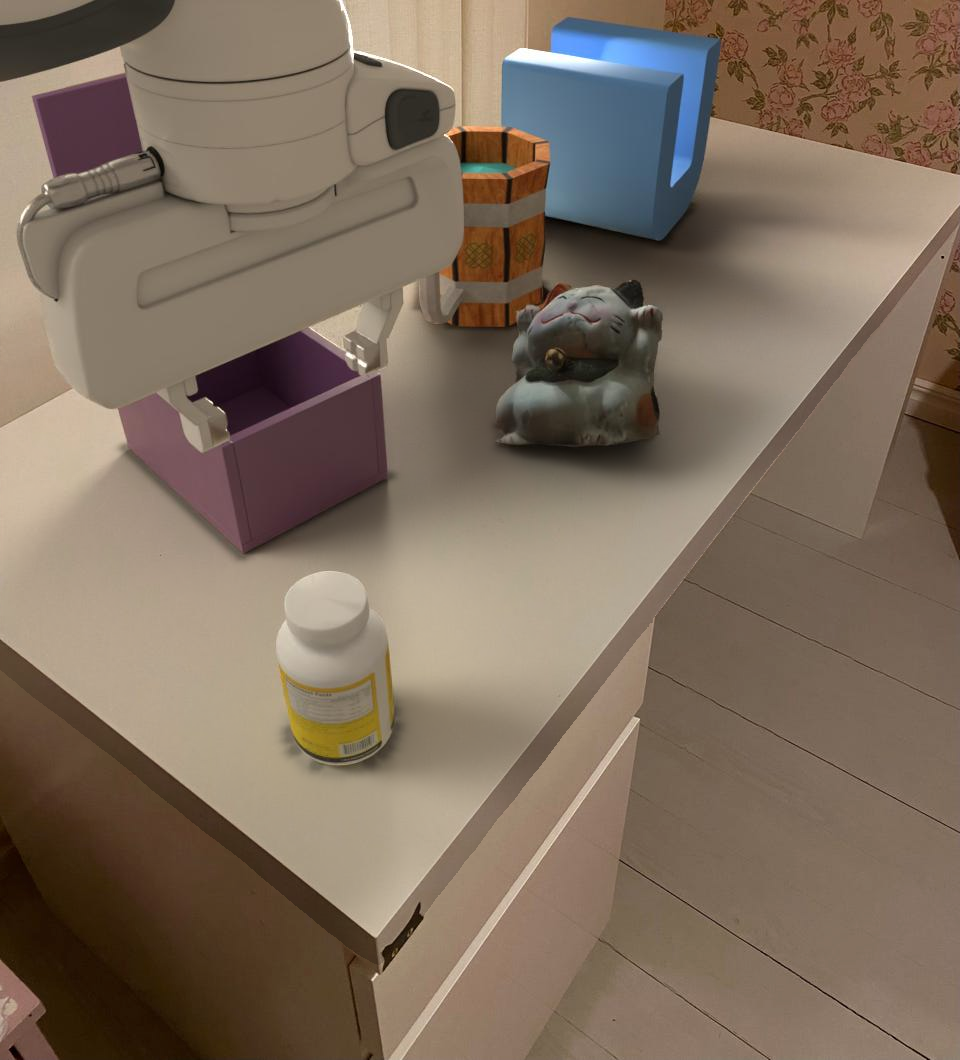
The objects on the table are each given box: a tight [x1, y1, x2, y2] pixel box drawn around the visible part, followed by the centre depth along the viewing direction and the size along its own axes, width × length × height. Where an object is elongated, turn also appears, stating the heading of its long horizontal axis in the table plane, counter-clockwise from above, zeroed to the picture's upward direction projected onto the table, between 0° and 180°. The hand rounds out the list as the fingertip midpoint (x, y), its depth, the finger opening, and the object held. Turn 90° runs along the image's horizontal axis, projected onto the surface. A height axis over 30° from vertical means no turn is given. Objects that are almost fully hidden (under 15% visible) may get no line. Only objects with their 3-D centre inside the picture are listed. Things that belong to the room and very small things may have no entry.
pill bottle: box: [275, 570, 395, 766], centre depth 62 cm, size 6×6×12 cm
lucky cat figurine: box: [495, 278, 664, 448], centre depth 87 cm, size 15×12×14 cm
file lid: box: [31, 72, 143, 179], centre depth 80 cm, size 19×14×5 cm
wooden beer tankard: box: [418, 125, 550, 328], centre depth 101 cm, size 20×14×15 cm
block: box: [500, 16, 722, 241], centre depth 117 cm, size 18×18×18 cm
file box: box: [117, 326, 389, 554], centre depth 83 cm, size 18×14×10 cm
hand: (291, 403), depth 52 cm, fingers open, 8 cm apart
